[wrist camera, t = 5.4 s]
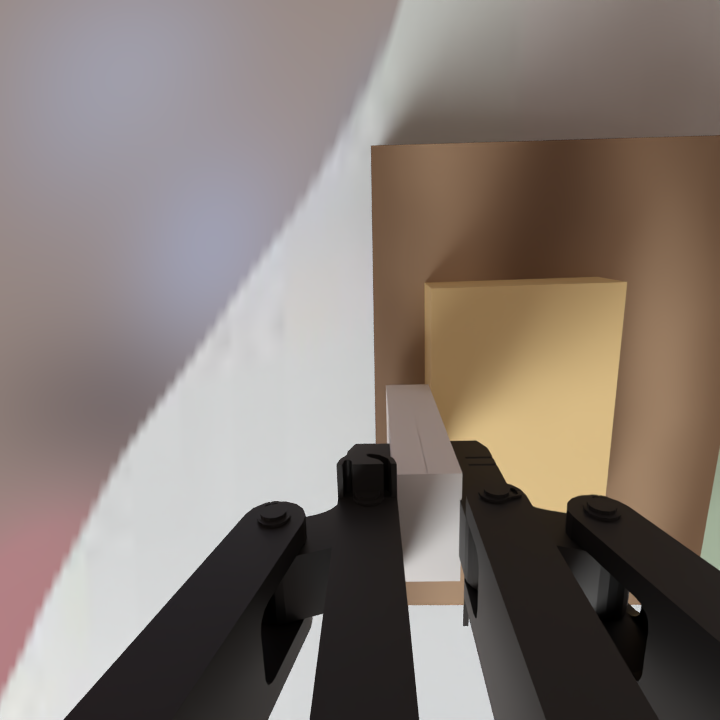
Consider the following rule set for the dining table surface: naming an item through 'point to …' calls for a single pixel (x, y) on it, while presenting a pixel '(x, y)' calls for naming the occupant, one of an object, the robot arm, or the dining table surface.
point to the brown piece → (570, 260)
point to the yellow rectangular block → (530, 377)
